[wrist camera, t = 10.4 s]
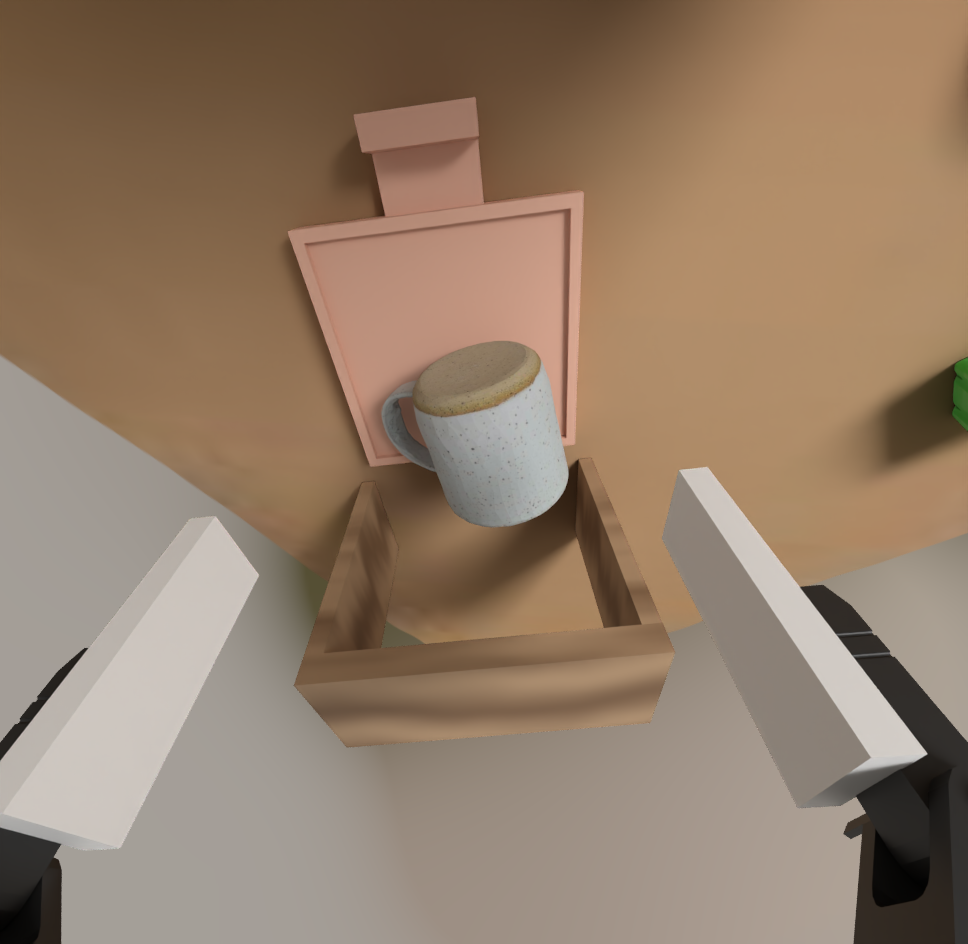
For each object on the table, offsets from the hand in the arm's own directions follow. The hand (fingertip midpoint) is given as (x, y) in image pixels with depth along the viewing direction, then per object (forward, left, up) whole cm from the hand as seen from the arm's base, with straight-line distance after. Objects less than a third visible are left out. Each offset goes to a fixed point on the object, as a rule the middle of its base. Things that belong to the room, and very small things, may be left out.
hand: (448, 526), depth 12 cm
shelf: (+14, 0, -16) cm, 22 cm away
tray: (0, 0, -16) cm, 16 cm away
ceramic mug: (+1, +2, -15) cm, 15 cm away
